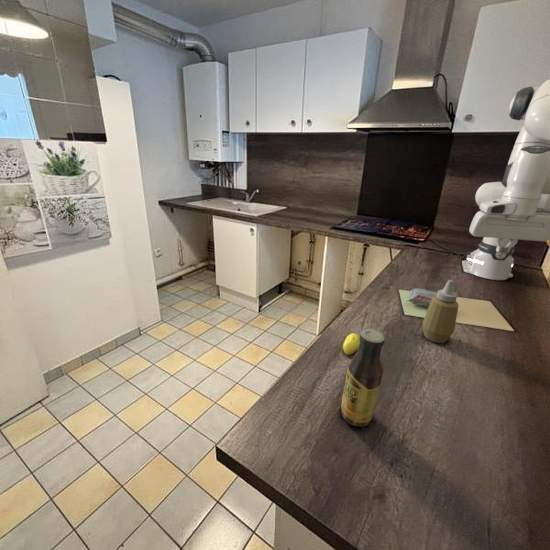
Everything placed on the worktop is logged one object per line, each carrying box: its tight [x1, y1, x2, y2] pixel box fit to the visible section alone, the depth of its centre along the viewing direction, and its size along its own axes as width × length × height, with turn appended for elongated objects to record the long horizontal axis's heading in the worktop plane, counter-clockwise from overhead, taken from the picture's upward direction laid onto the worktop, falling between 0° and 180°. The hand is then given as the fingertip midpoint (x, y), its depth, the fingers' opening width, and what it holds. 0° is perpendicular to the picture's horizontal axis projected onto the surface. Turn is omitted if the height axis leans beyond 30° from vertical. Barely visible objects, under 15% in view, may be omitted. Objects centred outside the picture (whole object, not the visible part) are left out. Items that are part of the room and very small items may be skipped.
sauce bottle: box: [340, 328, 386, 428], centre depth 54 cm, size 6×6×20 cm
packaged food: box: [405, 287, 438, 307], centre depth 101 cm, size 9×12×5 cm
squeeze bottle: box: [421, 279, 458, 344], centre depth 80 cm, size 8×8×18 cm
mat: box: [398, 289, 515, 332], centre depth 100 cm, size 20×31×1 cm, turn 74°
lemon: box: [342, 332, 360, 356], centre depth 77 cm, size 4×8×4 cm, turn 145°
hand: (502, 252), depth 90 cm, fingers closed
